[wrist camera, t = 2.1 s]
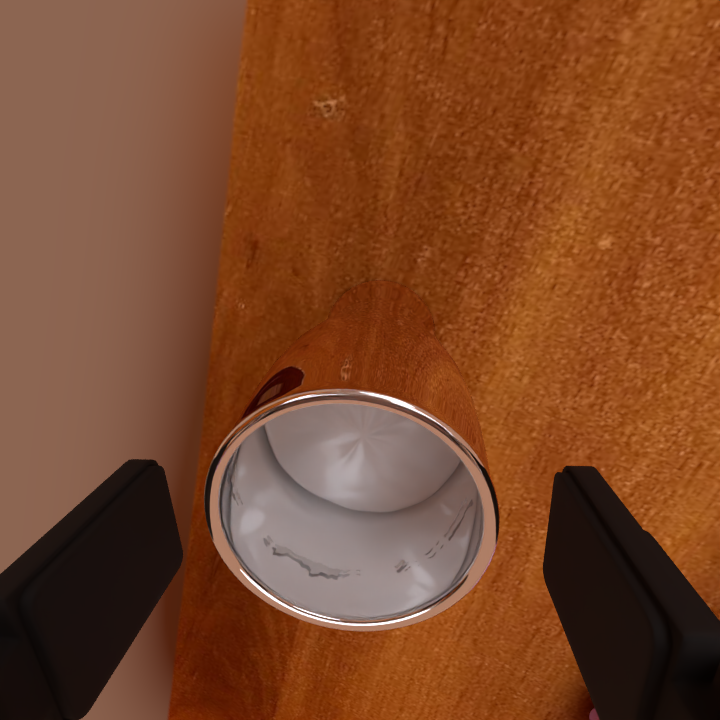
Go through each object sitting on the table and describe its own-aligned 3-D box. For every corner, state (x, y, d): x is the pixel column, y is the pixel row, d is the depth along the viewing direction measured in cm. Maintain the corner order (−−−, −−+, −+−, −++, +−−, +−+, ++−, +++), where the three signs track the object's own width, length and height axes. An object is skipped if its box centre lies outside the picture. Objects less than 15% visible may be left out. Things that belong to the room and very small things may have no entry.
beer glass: (377, 243, 21) (333, 305, 7) (469, 332, 23) (582, 534, 9) (293, 335, 24) (135, 519, 10) (381, 413, 25) (356, 678, 11)
